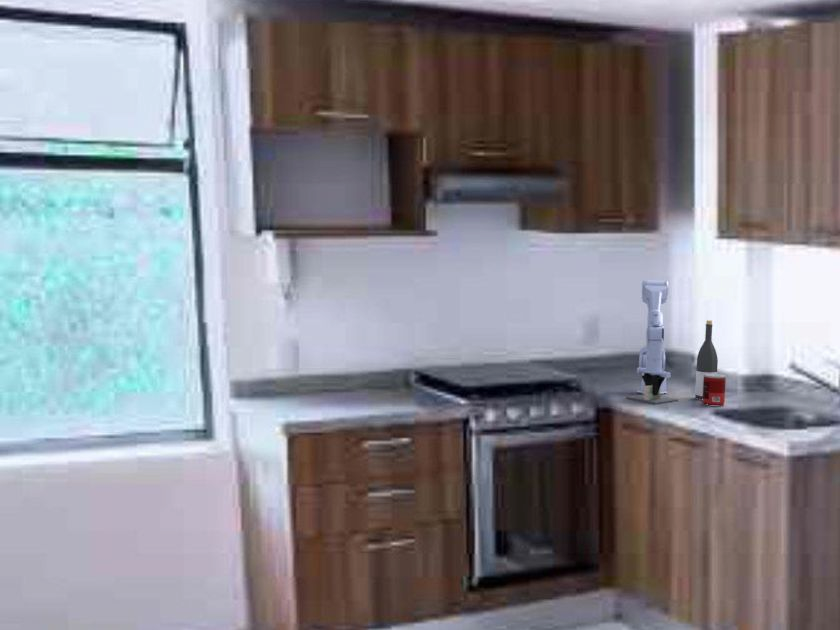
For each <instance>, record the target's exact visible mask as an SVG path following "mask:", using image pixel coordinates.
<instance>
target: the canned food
mask: <svg viewBox="0 0 840 630" xmlns="http://www.w3.org/2000/svg"><path fill="white" fill-rule="evenodd" d="M726 381H727V376H726V375H725V374H722V373H717V374H714V373H708V374H704V381H703V400H702V404H703V403H704V404H708V405H723V406H724V405H725V402H726V401H725V398H726V385H727V384H726ZM704 404H703V405H704ZM708 405H707V406H708Z"/></svg>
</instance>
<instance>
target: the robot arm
mask: <svg viewBox="0 0 840 630" xmlns="http://www.w3.org/2000/svg"><path fill="white" fill-rule="evenodd" d="M668 295H669V282H668V280H649V279H647V280H646V279H643V281H642V283H641V299H642V302H643V304H644V303H645V304H646V306H647V310H648V311H647V325H646V326H647V327H646V331H645V339H646V345H645V346H643V347H641V348H640V350H639V355H638V357H639V358H638V359H639V360H638V367H637V368H636V373H637V374H641V390H636V393H639V394H642V395H644V386H649V385H652V386H653V395H658V392H659V389H660V386H661V392H660V395H664V393H665V394H668V391H667V379H671V374H672V373H671V372H669V371H665V369H666V350H665V349H664V348H663V344H664V341H665V333H666V331H665V327H664V325H665V324H664V314H663V312H662V311H661V306H662V305H664V304H665V303H666V302H667V300H668Z"/></svg>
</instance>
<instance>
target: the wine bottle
mask: <svg viewBox="0 0 840 630" xmlns="http://www.w3.org/2000/svg"><path fill="white" fill-rule="evenodd" d="M705 323H706V324H705V335H704V336H705V337H704V338H705V339H704V342H703V343H702V345H701V346H700V348H699V350H698V353H697V357H696V372H695V374H696V375H695V389H694V390H695V394H694V395H695V396H694V397H695V399H696V398H698V399H703V381H704V374H708V373H714V374H718V365H719V364H718V361H719V360H718V354H717V351H716V348H715V345H714V343H713V339H712V338H713V337H712V335H713V334H712V333H713V321H712V320H711V319H709V320H708V319H707V320H706V322H705ZM698 399H697V400H698Z"/></svg>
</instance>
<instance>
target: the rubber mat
mask: <svg viewBox="0 0 840 630" xmlns="http://www.w3.org/2000/svg"><path fill="white" fill-rule="evenodd" d="M625 398H626V399H627V400H632V401H638V402H642V403H646V404H650V405H660V404H659V403H662V404H667V403H666V402H669V403H673V402H672V401H676V402H678V401H679V399H676V398H674V397H672V398H671V397H666V396H661V395H660V399H653V400H644V394H639V395H638V394H637V395H630V396H626V397H625Z"/></svg>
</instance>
